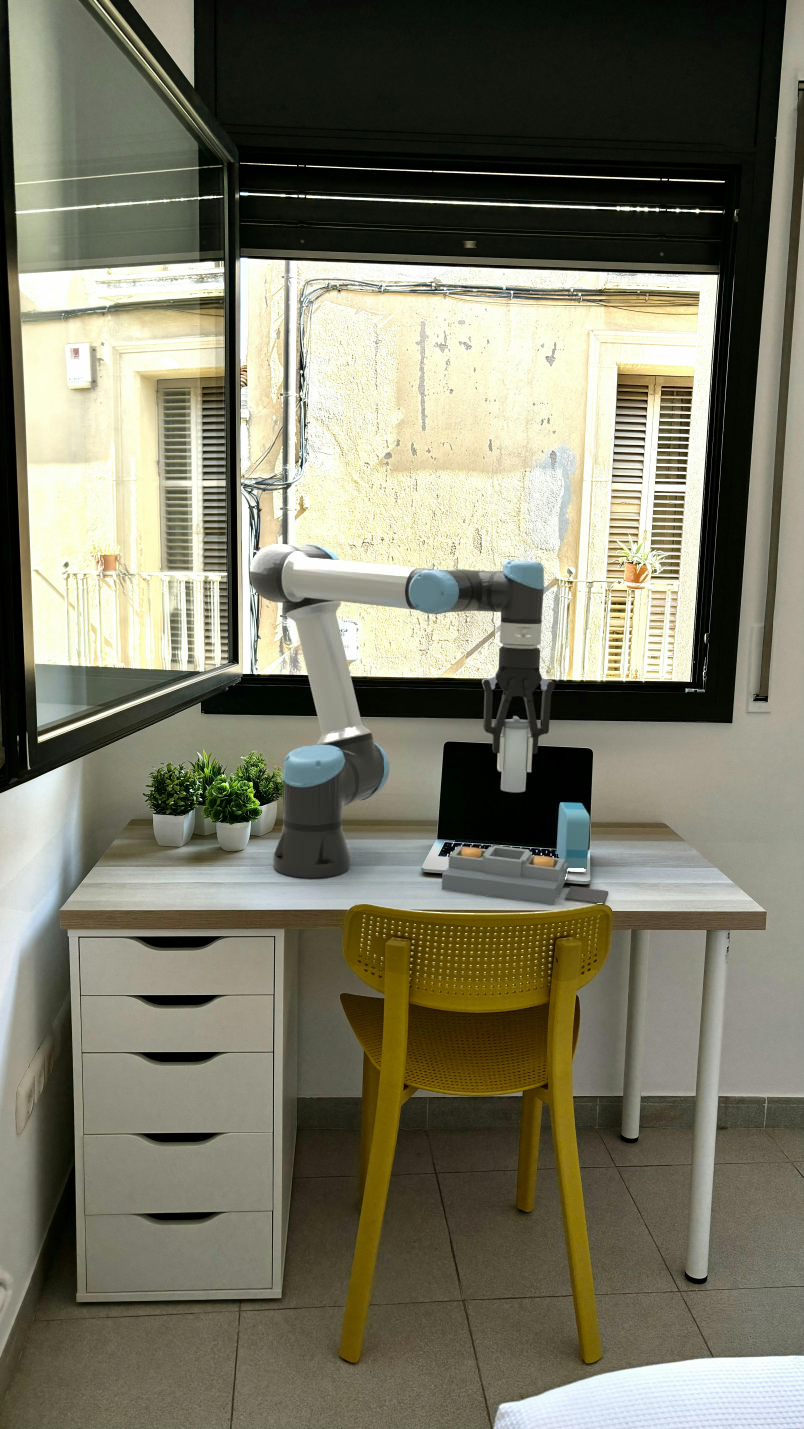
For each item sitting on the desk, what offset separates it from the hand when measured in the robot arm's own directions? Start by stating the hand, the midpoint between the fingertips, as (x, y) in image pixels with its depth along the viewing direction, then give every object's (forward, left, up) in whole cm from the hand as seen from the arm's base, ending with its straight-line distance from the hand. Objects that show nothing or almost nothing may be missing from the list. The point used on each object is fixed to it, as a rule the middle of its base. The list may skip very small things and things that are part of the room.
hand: (513, 770), depth 184 cm
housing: (0, 0, -22) cm, 22 cm away
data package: (+10, +17, -23) cm, 30 cm away
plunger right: (+7, 0, -19) cm, 20 cm away
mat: (+15, -1, -22) cm, 27 cm away
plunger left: (-7, 0, -19) cm, 20 cm away
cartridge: (0, 0, -4) cm, 4 cm away
